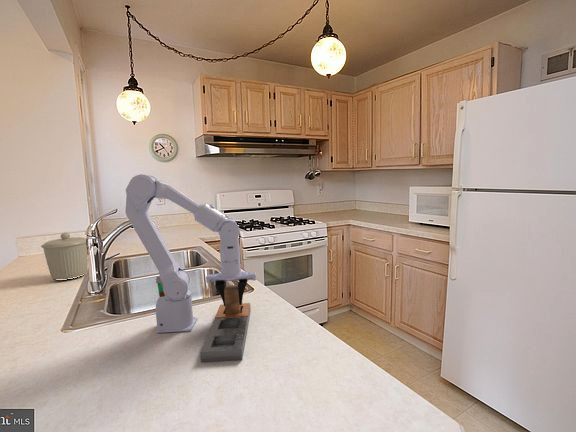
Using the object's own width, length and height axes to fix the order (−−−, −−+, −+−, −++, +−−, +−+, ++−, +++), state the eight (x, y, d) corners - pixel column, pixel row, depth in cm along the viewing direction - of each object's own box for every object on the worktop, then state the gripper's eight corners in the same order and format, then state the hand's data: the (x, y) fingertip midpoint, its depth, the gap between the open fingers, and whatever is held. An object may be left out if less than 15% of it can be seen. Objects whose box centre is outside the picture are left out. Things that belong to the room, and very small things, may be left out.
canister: (75, 283, 134) (70, 235, 132) (34, 284, 134) (28, 237, 132) (101, 271, 152) (97, 229, 150) (65, 272, 152) (60, 230, 150)
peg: (225, 319, 90) (224, 290, 89) (227, 314, 94) (226, 285, 93) (239, 319, 91) (237, 289, 90) (241, 313, 95) (239, 284, 94)
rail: (200, 362, 70) (200, 351, 70) (220, 312, 97) (220, 304, 97) (242, 359, 71) (241, 348, 71) (250, 311, 98) (250, 303, 97)
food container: (174, 306, 104) (171, 277, 103) (157, 305, 106) (155, 277, 104) (192, 293, 116) (190, 267, 115) (177, 292, 118) (175, 266, 116)
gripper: (202, 264, 87) (205, 311, 88) (254, 262, 87) (256, 308, 89) (207, 258, 94) (210, 301, 95) (255, 256, 94) (257, 299, 96)
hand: (233, 304), depth 93 cm, fingers closed on peg, 4 cm apart
